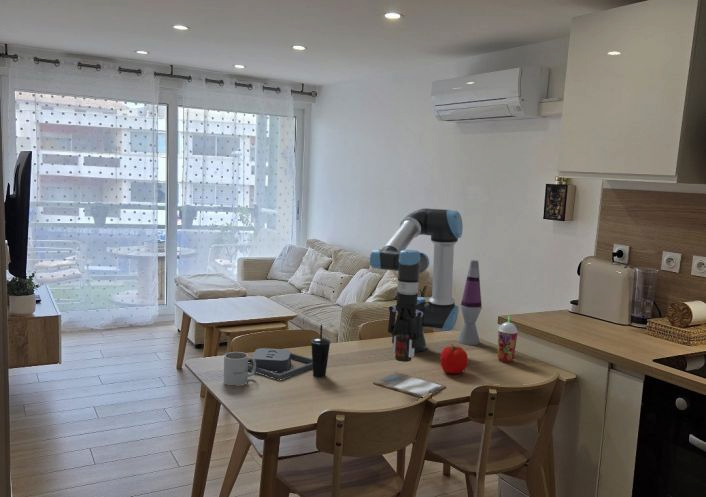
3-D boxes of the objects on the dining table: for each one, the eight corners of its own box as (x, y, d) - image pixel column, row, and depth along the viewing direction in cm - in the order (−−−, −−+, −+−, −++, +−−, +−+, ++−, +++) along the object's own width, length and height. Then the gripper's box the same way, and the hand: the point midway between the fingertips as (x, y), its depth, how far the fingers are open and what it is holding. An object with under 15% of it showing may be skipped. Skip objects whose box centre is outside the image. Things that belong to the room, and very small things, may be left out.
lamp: (457, 343, 276) (463, 261, 271) (457, 337, 286) (462, 258, 281) (480, 345, 274) (486, 262, 269) (479, 339, 285) (485, 259, 280)
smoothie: (513, 358, 257) (517, 314, 254) (516, 364, 248) (520, 319, 246) (494, 357, 257) (497, 313, 255) (497, 363, 249) (500, 317, 247)
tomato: (450, 366, 242) (451, 340, 241) (473, 373, 234) (475, 346, 232) (432, 371, 234) (434, 345, 232) (455, 379, 226) (457, 352, 224)
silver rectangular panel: (373, 383, 217) (373, 380, 217) (395, 373, 230) (396, 369, 230) (424, 399, 204) (425, 395, 204) (445, 387, 217) (445, 383, 217)
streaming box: (256, 360, 239) (257, 347, 238) (291, 361, 238) (292, 349, 238) (249, 371, 224) (250, 358, 224) (286, 373, 224) (287, 360, 223)
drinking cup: (332, 373, 225) (334, 323, 223) (324, 380, 218) (327, 328, 216) (314, 370, 228) (316, 321, 225) (306, 376, 221) (308, 325, 218)
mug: (227, 387, 206) (227, 360, 205) (221, 379, 214) (221, 353, 213) (260, 383, 212) (261, 356, 211) (253, 375, 219) (254, 350, 218)
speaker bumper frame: (235, 366, 229) (235, 361, 229) (277, 353, 248) (277, 348, 248) (279, 380, 215) (279, 375, 215) (319, 365, 234) (319, 361, 234)
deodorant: (393, 356, 215) (396, 317, 214) (409, 357, 216) (412, 317, 214) (396, 361, 209) (398, 321, 208) (412, 362, 210) (415, 321, 208)
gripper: (380, 289, 212) (376, 351, 215) (425, 298, 201) (420, 362, 204) (391, 287, 218) (387, 347, 221) (435, 295, 207) (431, 357, 210)
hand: (403, 354), depth 212 cm, fingers closed on deodorant, 6 cm apart
